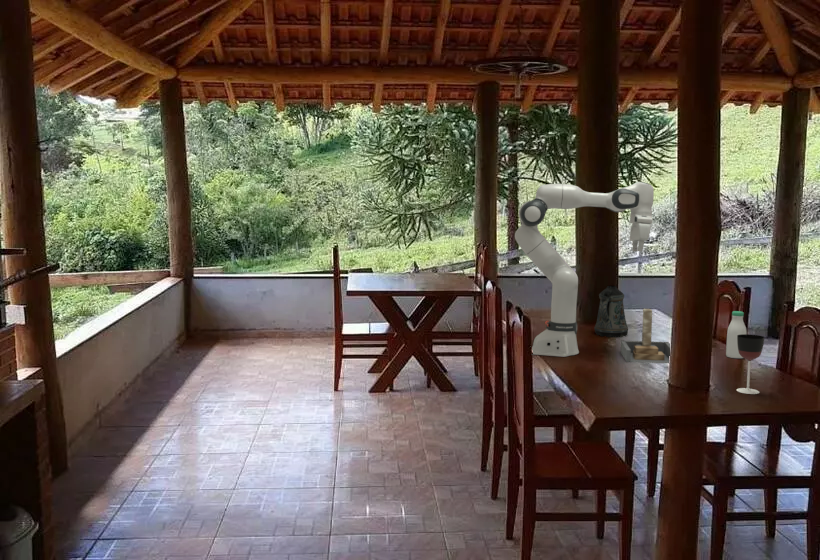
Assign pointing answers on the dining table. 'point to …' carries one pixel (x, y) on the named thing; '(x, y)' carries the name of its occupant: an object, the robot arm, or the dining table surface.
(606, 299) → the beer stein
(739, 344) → the wineglass
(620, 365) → the dining table surface
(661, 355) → the lower offcut
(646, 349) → the upper offcut
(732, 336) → the milk bottle
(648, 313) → the birch strip
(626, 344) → the grey open tray
